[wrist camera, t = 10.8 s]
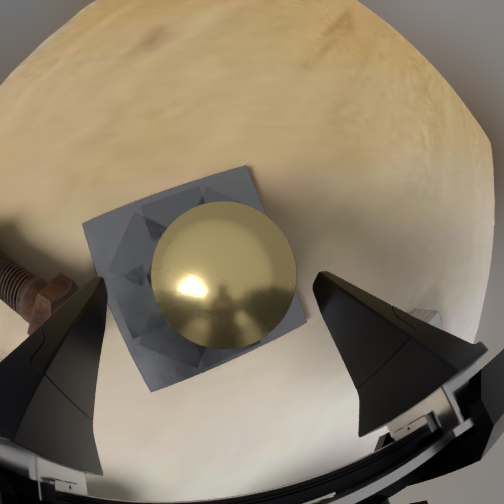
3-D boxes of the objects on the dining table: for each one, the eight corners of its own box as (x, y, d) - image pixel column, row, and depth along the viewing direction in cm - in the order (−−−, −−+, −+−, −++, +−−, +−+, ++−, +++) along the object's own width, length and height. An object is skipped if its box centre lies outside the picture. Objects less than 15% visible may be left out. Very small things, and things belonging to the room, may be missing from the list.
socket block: (303, 321, 23) (328, 328, 19) (151, 389, 19) (148, 411, 15) (244, 168, 22) (258, 147, 19) (84, 224, 18) (66, 213, 14)
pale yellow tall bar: (235, 272, 21) (320, 260, 9) (201, 319, 20) (243, 375, 8) (189, 236, 20) (213, 173, 8) (154, 283, 19) (121, 290, 7)
